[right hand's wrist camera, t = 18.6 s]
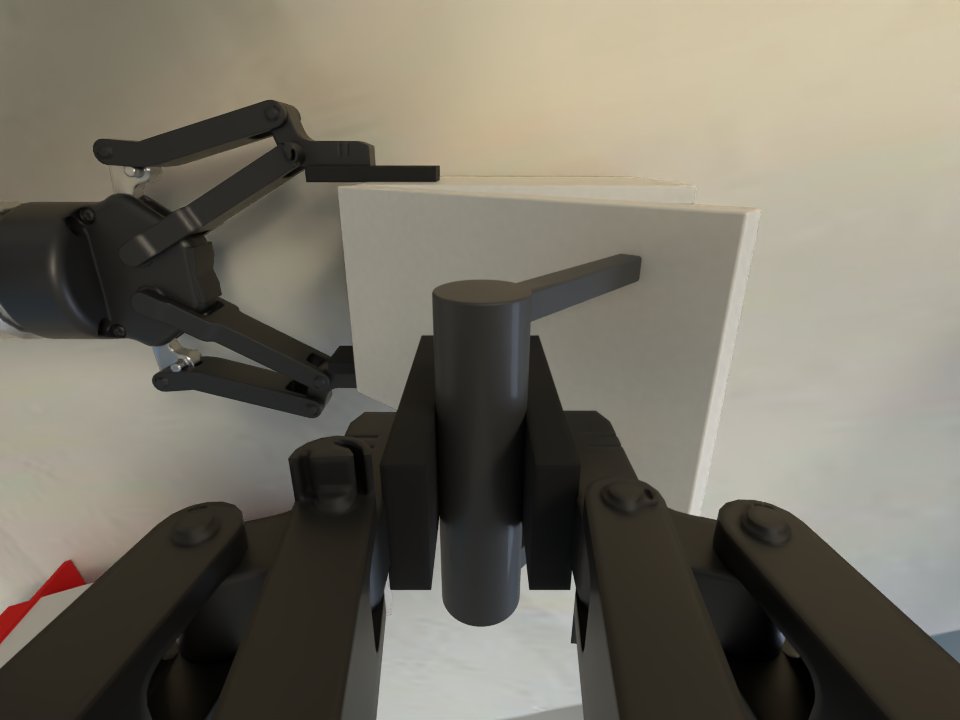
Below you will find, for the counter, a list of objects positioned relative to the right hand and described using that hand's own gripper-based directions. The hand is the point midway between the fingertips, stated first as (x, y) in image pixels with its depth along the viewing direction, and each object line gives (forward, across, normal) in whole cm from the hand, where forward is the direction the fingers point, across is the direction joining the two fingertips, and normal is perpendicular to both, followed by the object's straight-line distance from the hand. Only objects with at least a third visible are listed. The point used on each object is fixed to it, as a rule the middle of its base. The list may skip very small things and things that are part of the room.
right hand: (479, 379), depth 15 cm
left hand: (+15, -2, 0) cm, 15 cm away
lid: (+5, +1, 0) cm, 5 cm away
